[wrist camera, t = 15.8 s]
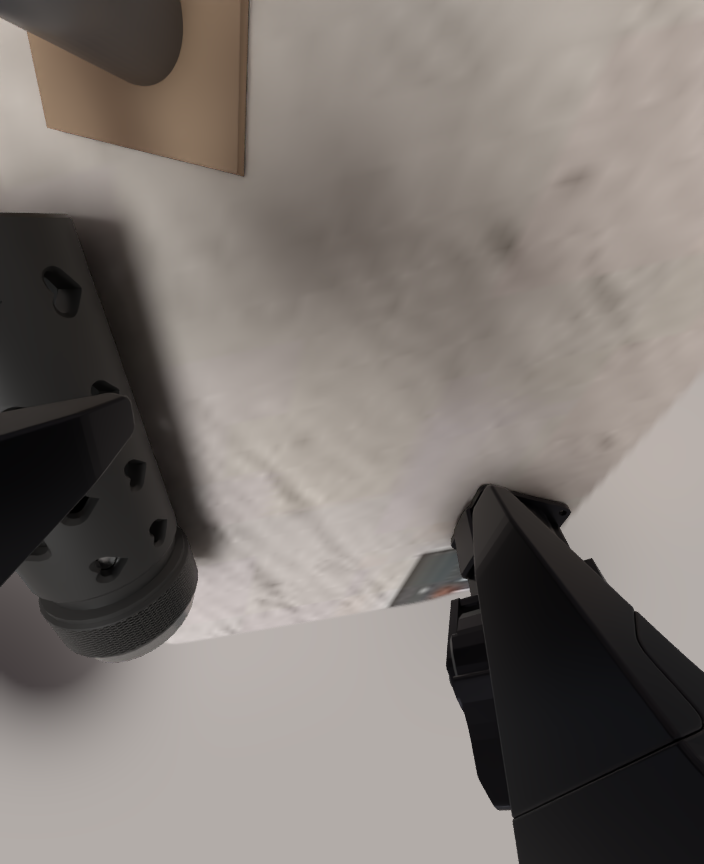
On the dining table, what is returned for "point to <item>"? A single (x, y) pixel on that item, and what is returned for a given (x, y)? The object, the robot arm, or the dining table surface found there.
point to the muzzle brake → (121, 482)
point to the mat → (160, 93)
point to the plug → (108, 32)
